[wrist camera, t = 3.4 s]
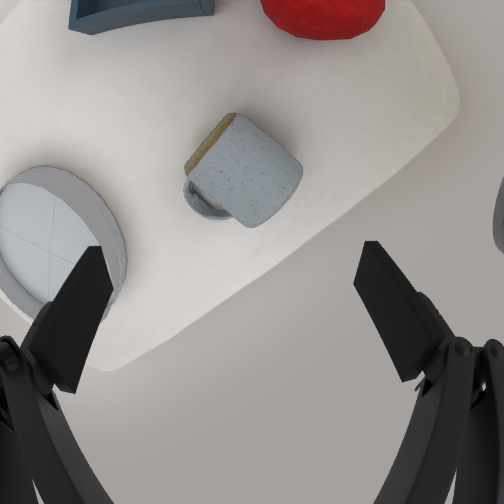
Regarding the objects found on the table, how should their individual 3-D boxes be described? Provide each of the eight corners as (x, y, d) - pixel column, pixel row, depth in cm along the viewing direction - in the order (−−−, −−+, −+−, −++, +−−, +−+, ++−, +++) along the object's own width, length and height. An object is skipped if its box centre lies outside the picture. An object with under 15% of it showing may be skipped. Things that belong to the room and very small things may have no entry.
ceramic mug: (232, 104, 24) (230, 109, 17) (295, 156, 27) (315, 180, 21) (167, 185, 28) (148, 218, 21) (229, 227, 31) (228, 269, 25)
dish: (149, 205, 29) (136, 226, 24) (112, 328, 39) (104, 352, 34) (4, 145, 22) (-21, 157, 18) (2, 274, 32) (-13, 293, 28)
